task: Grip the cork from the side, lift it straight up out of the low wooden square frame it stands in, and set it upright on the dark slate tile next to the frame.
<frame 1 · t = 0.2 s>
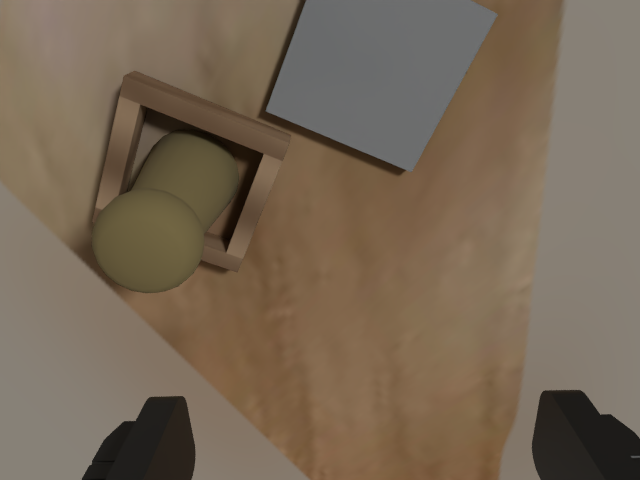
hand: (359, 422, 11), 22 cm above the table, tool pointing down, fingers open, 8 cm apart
wooden square frame: (193, 174, 31), on the table
slate tile: (374, 62, 28), on the table
cork: (194, 173, 31), resting in wooden square frame
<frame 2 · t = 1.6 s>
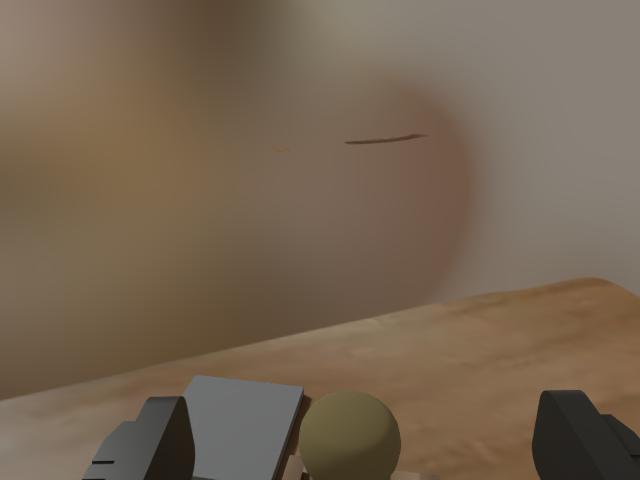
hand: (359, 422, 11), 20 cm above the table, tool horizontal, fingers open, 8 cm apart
slate tile: (227, 430, 37), on the table
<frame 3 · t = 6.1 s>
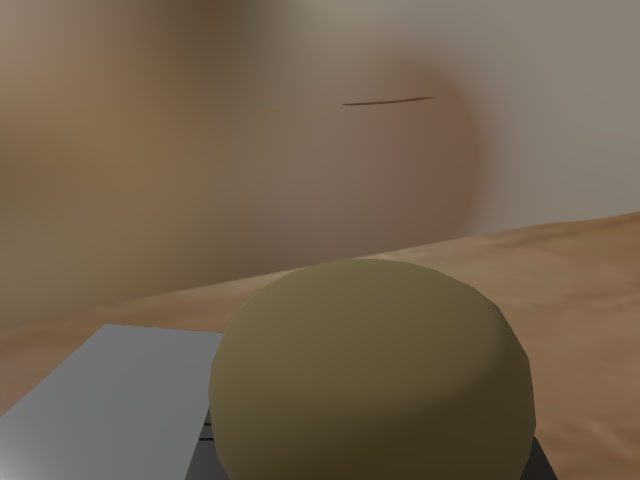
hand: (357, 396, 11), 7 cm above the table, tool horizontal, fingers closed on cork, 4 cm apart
slate tile: (140, 408, 21), on the table
when the fingers open (9 cm above the table, at t = 10.6 s): cork stays where it is, point 1 cm above the table.
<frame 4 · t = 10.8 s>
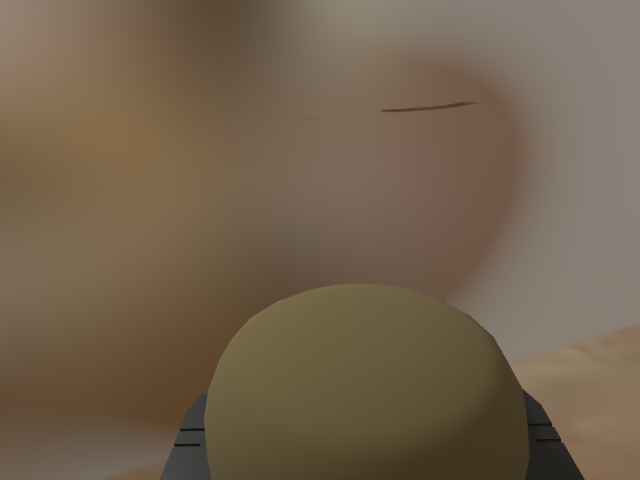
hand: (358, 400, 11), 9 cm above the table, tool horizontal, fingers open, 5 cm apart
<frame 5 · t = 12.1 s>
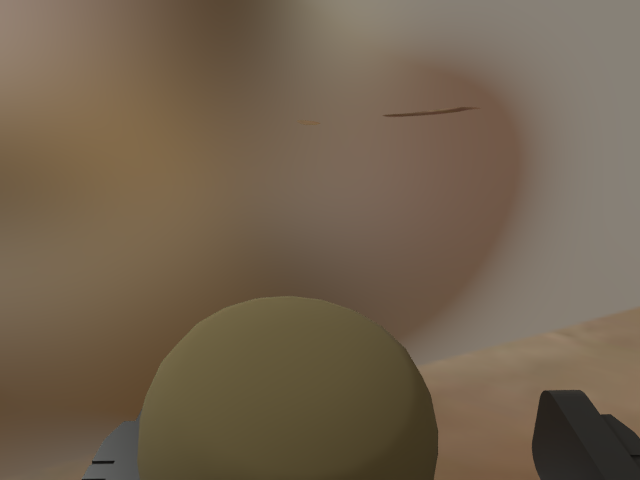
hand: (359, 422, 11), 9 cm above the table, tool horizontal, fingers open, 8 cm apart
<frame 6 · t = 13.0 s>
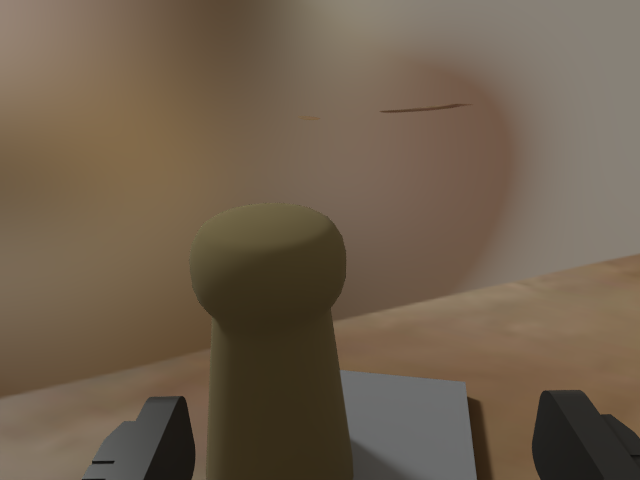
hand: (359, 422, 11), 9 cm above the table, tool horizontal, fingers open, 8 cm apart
slate tile: (353, 460, 20), on the table
cork: (280, 468, 19), point 1 cm above the table, touching slate tile
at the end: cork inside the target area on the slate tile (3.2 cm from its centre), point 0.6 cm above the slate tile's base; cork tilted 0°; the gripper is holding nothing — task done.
